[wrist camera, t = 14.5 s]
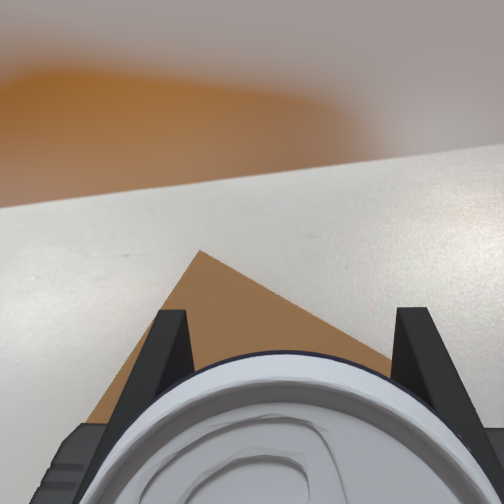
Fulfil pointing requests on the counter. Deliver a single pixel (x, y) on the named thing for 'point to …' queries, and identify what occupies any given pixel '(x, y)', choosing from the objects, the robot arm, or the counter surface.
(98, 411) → the cork mat
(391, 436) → the beverage can
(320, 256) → the counter surface
